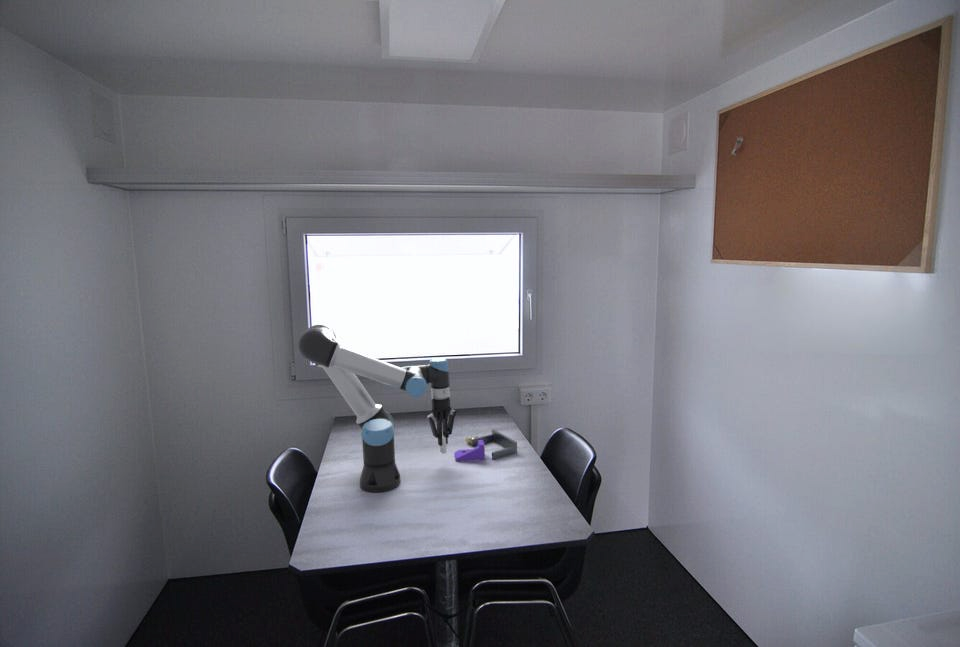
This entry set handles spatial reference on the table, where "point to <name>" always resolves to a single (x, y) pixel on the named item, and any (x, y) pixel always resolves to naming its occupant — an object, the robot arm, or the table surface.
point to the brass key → (470, 439)
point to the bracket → (471, 453)
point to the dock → (499, 439)
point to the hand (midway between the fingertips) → (443, 452)
